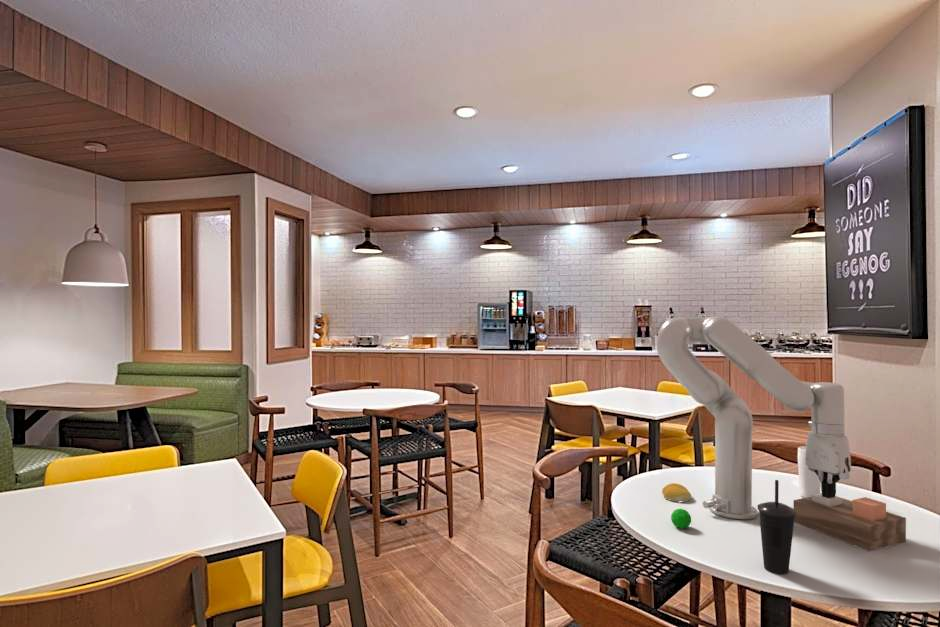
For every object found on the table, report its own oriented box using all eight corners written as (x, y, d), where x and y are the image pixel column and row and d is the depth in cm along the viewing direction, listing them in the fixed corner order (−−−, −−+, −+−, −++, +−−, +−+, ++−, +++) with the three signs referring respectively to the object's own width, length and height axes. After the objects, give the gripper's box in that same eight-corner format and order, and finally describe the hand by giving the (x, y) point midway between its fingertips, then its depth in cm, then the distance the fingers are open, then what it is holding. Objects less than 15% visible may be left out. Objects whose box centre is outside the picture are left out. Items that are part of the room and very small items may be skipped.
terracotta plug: (873, 522, 139) (873, 506, 139) (852, 515, 144) (852, 499, 144) (886, 519, 141) (886, 503, 141) (865, 512, 146) (865, 497, 146)
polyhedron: (674, 522, 154) (674, 505, 154) (693, 526, 151) (693, 508, 151) (668, 528, 150) (668, 510, 150) (688, 532, 147) (688, 514, 147)
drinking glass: (827, 501, 171) (828, 451, 171) (805, 501, 171) (805, 451, 171) (814, 493, 178) (814, 446, 177) (792, 493, 178) (793, 446, 178)
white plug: (829, 515, 150) (829, 500, 150) (811, 509, 154) (811, 494, 154) (842, 512, 152) (842, 498, 151) (824, 506, 156) (824, 492, 156)
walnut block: (869, 551, 136) (869, 526, 136) (793, 521, 154) (793, 500, 154) (905, 541, 141) (905, 517, 141) (828, 514, 160) (828, 493, 160)
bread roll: (665, 502, 170) (665, 489, 170) (660, 492, 179) (660, 480, 179) (694, 504, 169) (694, 490, 169) (688, 494, 178) (688, 481, 178)
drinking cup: (804, 574, 124) (804, 483, 124) (776, 579, 122) (776, 487, 121) (776, 559, 131) (776, 474, 131) (749, 564, 129) (749, 476, 129)
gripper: (792, 424, 158) (793, 490, 158) (846, 435, 144) (847, 507, 144) (811, 422, 161) (811, 486, 161) (865, 432, 147) (866, 503, 147)
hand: (828, 496), depth 153 cm, fingers closed
